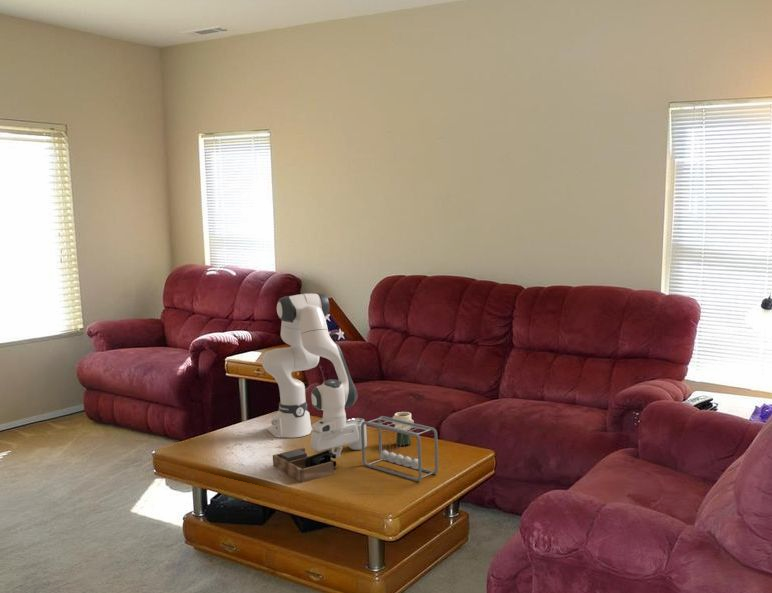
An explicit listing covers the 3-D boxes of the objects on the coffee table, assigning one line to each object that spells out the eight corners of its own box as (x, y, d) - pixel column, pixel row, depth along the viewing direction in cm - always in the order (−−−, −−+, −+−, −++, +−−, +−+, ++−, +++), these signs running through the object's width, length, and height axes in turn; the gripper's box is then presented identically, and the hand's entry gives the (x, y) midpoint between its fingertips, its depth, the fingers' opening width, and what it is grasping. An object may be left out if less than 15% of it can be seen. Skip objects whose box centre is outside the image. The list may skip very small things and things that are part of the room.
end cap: (324, 465, 291) (323, 448, 290) (337, 468, 286) (336, 451, 285) (305, 472, 283) (304, 455, 283) (318, 476, 279) (317, 459, 278)
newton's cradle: (439, 475, 276) (437, 428, 274) (420, 483, 269) (419, 435, 267) (380, 458, 297) (379, 414, 295) (361, 465, 290) (360, 420, 287)
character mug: (419, 444, 312) (418, 413, 311) (409, 448, 307) (408, 418, 305) (398, 439, 319) (397, 410, 318) (388, 444, 314) (387, 414, 312)
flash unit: (281, 467, 291) (280, 453, 290) (301, 462, 295) (300, 449, 295) (288, 471, 286) (288, 457, 285) (308, 466, 290) (307, 453, 290)
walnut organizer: (273, 466, 292) (272, 455, 291) (304, 458, 300) (303, 447, 299) (301, 482, 273) (301, 470, 273) (333, 473, 281) (333, 462, 281)
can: (364, 451, 306) (363, 422, 305) (347, 450, 308) (345, 422, 306) (368, 445, 314) (367, 417, 312) (351, 444, 315) (350, 417, 314)
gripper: (352, 415, 295) (354, 449, 297) (307, 426, 283) (309, 461, 285) (361, 418, 290) (363, 453, 292) (316, 429, 278) (318, 465, 280)
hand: (336, 457), depth 288 cm, fingers closed
